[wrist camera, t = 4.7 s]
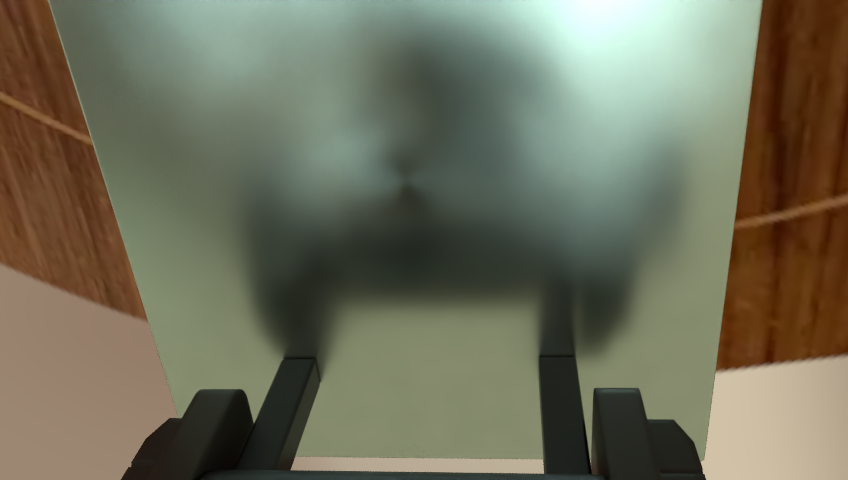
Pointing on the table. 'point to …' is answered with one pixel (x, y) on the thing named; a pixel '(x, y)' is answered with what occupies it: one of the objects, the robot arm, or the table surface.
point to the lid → (424, 213)
